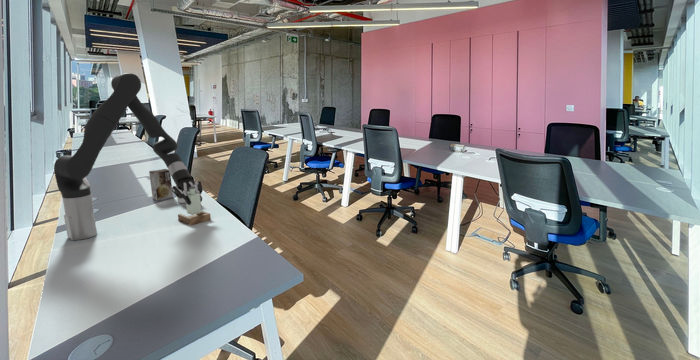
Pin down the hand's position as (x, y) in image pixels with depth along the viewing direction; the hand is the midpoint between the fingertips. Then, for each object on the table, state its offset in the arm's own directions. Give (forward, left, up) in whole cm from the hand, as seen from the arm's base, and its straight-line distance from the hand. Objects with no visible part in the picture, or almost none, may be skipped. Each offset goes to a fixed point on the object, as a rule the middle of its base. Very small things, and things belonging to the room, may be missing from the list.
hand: (195, 202), depth 165 cm
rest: (0, +2, -9) cm, 9 cm away
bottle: (0, +2, -5) cm, 6 cm away
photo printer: (+13, +33, -9) cm, 37 cm away
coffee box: (+9, +53, -9) cm, 54 cm away
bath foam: (-25, +65, -9) cm, 70 cm away
